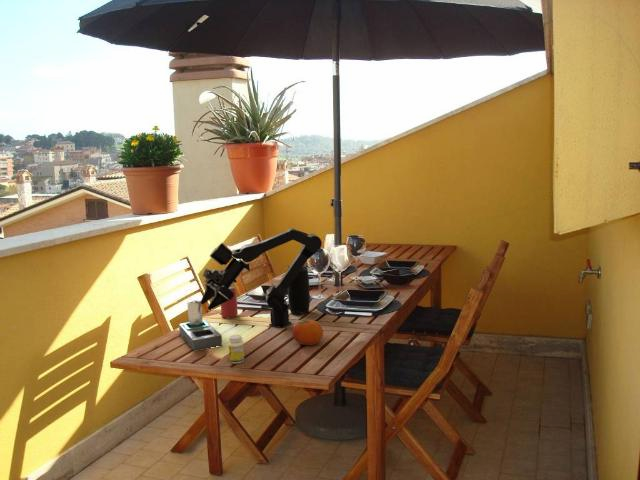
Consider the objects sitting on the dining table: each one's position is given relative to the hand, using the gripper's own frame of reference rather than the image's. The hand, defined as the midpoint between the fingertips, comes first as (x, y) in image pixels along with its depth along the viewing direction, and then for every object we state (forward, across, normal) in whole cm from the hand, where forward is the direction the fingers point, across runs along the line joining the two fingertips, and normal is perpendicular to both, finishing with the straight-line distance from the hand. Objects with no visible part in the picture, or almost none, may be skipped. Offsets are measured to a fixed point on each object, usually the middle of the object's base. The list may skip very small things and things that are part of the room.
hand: (204, 306), depth 233 cm
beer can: (-3, -18, +18) cm, 26 cm away
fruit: (-11, +30, +27) cm, 42 cm away
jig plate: (+10, +5, +5) cm, 13 cm away
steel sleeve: (+10, 0, +5) cm, 11 cm away
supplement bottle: (+8, +33, +8) cm, 35 cm away
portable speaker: (-21, -6, +37) cm, 43 cm away
